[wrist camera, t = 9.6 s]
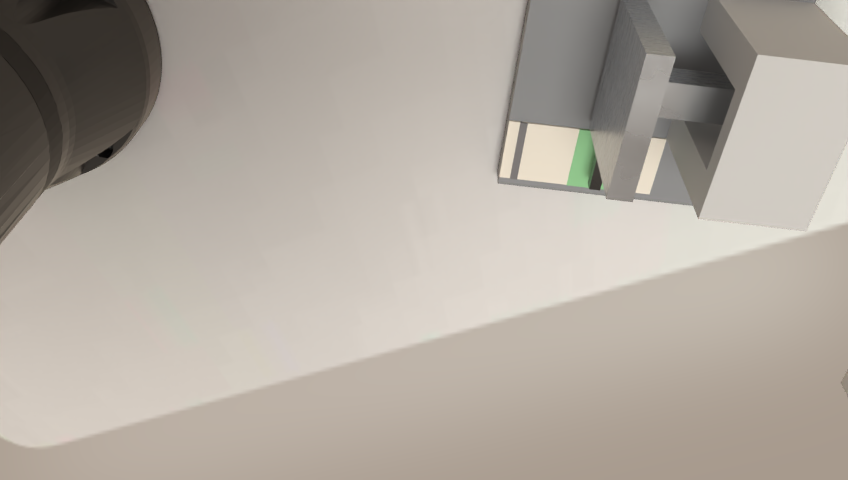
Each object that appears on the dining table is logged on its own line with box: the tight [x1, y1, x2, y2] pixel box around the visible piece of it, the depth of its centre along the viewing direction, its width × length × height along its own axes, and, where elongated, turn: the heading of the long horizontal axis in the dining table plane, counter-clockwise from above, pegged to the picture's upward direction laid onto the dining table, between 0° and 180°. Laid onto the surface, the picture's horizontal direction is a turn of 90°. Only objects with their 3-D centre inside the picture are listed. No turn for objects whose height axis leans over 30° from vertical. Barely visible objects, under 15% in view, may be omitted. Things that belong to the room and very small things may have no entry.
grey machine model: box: [588, 0, 735, 202], centre depth 38 cm, size 11×10×7 cm
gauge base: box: [497, 0, 848, 231], centre depth 39 cm, size 14×14×9 cm
